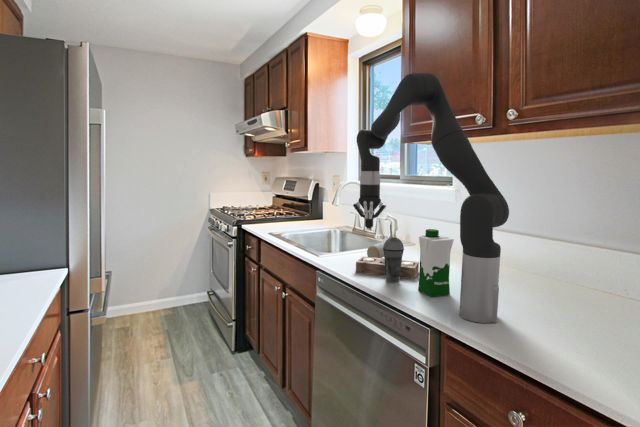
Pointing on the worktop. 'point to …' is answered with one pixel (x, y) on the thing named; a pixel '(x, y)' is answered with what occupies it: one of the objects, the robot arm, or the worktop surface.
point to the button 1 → (368, 259)
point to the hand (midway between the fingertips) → (369, 228)
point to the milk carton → (434, 263)
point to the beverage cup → (393, 258)
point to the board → (379, 268)
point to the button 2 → (407, 263)
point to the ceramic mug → (376, 250)
